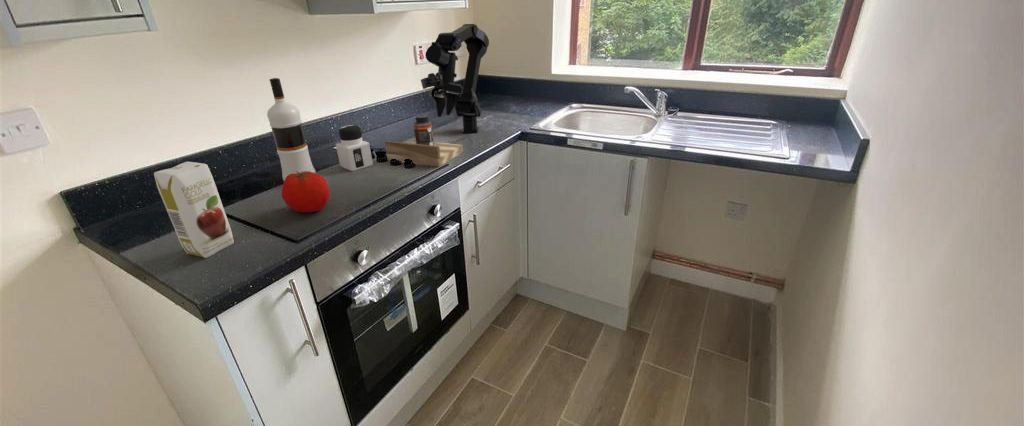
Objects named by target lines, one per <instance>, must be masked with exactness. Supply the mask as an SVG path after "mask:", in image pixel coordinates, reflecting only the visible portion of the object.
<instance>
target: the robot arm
mask: <svg viewBox="0 0 1024 426" xmlns="http://www.w3.org/2000/svg"><path fill="white" fill-rule="evenodd" d="M463 42H464V43H465V45H466V50H467V53H468V60H467V66H466V69H465V70H466V71H465V77H464V81H463V86H462V84H460V83H455V78H457V73H456V62H457V61H458V60H459V57H458V56H457V54H456V53H455V52H457V51H459V50H460V48H461V47H462V43H463ZM489 45H490V39H489V38H488V35H487V34H486V32H485V31H483V30H482V29H480V28H479V27H478V25H477V24H475V23H464V24H462V26H460V27H458V28H457V29H455V30H453V31H451V32H440V33H439V34H438V36H437V37H436V39H435V41H432V42H431V45H430V46H429V47H428V48H427V49H426V52H425V59H426V61H427V62H428V63H430V64H433V66H434V65H435V66H436V67H438V72H436V73H434V72H430V73H428V74H427V77H424V78H422V79H420V83H421V86H422V90H424V89H427V88H431V89H430V90H429V91H428V96H429V97H430V99H432V101H433V102H434V104H435V109H436V115H437V117H439V118H440V117H442V114H443V113H444V110H445V115H446V116H450V115H451V113H452V111H453V109H454V108H455V112H456V116H457V117H461V119H462V130H461V133H462V134H463V133H464V134H466V133H467V134H469V133H473V134H474V133H475V134H476V133H478V132H479V130H480V127H478V119H477V118H479V117H481V115H482V113H483V112H482V108H481V106H480V105H479V103H478V102H479V100H478V97H477V94H476V89H477V84H478V78H479V72H480V66H481V61H482V58H483V57H484V56H485V55H486V54H487V51H488V47H489ZM432 87H433V88H432Z"/></svg>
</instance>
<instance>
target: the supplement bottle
mask: <svg viewBox="0 0 1024 426" xmlns="http://www.w3.org/2000/svg"><path fill="white" fill-rule="evenodd" d="M413 131H414V140H416V144H423V145H433V146H434V142H435V139H434V134H433V124H432V122H431V121H430V120H429V116H428V114H418V115H416V116H415V122H414V124H413Z"/></svg>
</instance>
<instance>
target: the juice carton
mask: <svg viewBox="0 0 1024 426" xmlns="http://www.w3.org/2000/svg"><path fill="white" fill-rule="evenodd" d="M153 176H154V180H155V183H156V188H157V190H158V193H159V195H160V197H161V200H162V203H163V205H164V207H165V211H166V212H167V214H168V217H169V220H170V221H171V222H170V223H171V224H172V226H173V229H174V230H175V233H176V236H177V238H178V241H179V243H180V245H181V247H182V248H183V250H184V251H185V252H186V254H187V255H190V256H191V255H192V256H195V257H200V258H204V259H206V258H210V257H212V256H213V255H215V254H217V253H218V252H220V251H222V250H224V249H226V248H228V247H230V246H231V245H233V244H234V243H235V242H234V236H233V232H232V229H231V225H230V223H229V220H228V216H227V214H226V211H225V208H224V206H223V203H222V200H221V197H220V194H219V192H218V188H217V185H216V182H215V180H214V177H213V175H212V172H211V169H210V168H209V166H208V164H206V163H202V162H194V161H184V162H182V163H179V164H177V165H175V166H173V167H170V168H165V169H161V170H158V171H154V172H153Z"/></svg>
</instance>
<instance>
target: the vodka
mask: <svg viewBox="0 0 1024 426" xmlns="http://www.w3.org/2000/svg"><path fill="white" fill-rule="evenodd" d="M269 82H270V83H269V84H270V86H271V90H272V94H273V99H274V104H272V106H270V108H269V109H268V110H267V112H266V115H267V119H268V121H269V126H270V128H271V131H272V135H273V140H274V143H275V146H276V149H277V150H276V152H277V154H278V157H279V161H280V166H281V173H282V174H281V175H282V176H281V177H282V180H283V182H284V181H285V179H286V177H287V176H288V175H290V174H293V173H297V172H299V173H301V172H304V171H310V172H314V173H316V174H317V171H316V169H315V167H314V165H313V163H312V160H311V156H310V152H309V146H308V145H307V141H306V137H305V133H304V129H303V124H302V119H301V114H300V110H299V109H298V107H297V106H295V105H293V104H291V103H289V102H286V98H285V95H284V90H283V87H282V83H281V79H280V78H278V77H272V78H270V79H269ZM296 171H297V172H296Z"/></svg>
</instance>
